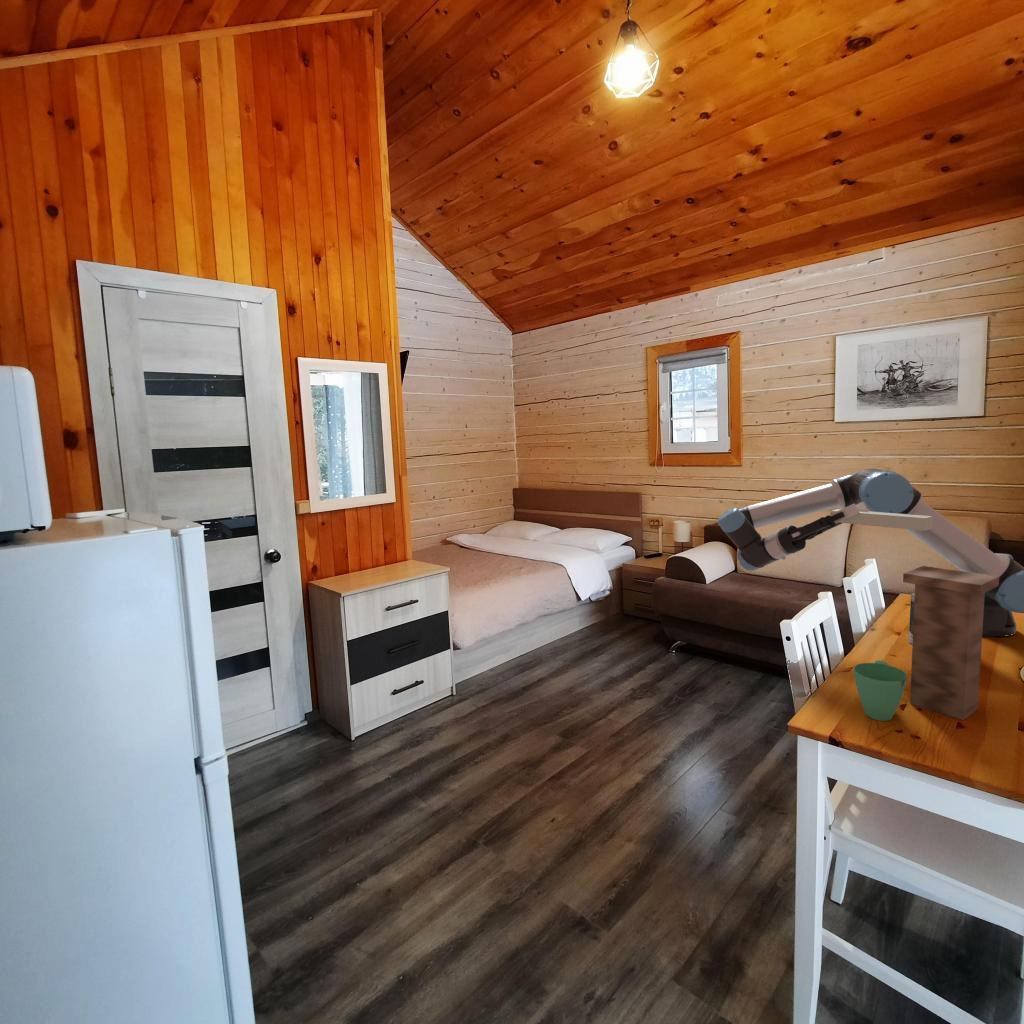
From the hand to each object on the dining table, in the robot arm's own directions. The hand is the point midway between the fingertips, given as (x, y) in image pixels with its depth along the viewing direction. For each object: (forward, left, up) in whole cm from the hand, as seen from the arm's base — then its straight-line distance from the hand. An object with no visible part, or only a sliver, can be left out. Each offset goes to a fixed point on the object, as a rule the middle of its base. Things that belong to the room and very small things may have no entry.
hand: (860, 507), depth 149 cm
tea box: (-21, -14, -42) cm, 49 cm away
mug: (-2, +29, -42) cm, 51 cm away
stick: (-4, +2, -4) cm, 6 cm away
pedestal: (-15, +22, -42) cm, 49 cm away
